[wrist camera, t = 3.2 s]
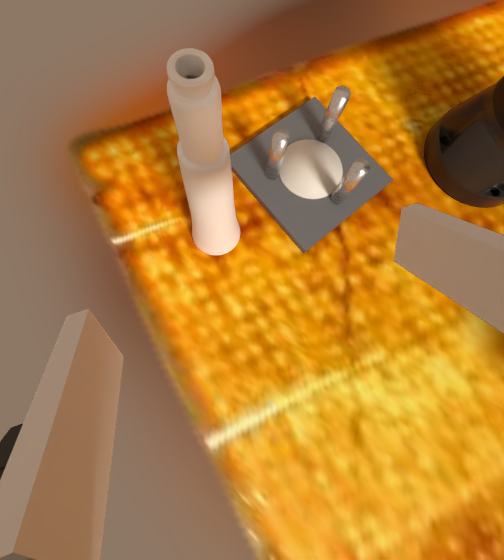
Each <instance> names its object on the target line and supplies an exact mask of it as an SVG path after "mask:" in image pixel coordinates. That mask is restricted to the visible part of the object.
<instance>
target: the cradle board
mask: <svg viewBox="0 0 504 560" xmlns="http://www.w3.org/2000/svg"><path fill="white" fill-rule="evenodd" d="M326 110H327V109H326V108H325V107H324V106H323V105H322V104H321V103H320V102H319V101H318V100H317V99H316V97H313V98H312V99H311V100H309V101H308V102H306V103H305V104H303V105H302V106H300V107H299V108H297V109H296V110H294V111H293V112H292V113H290V114H289V115H287V116H286V117H284V118H283V119H281V120H280V121H278V122H277V123H275V124H274V125H273V126H271V127H270V128H268V129H267V130H265V131H264V132H262V133H261V134H259V135H258V136H256V137H255V138H254V139H252V140H251V141H249V142H248V143H246V144H245V145H243V146H242V147H240V148H239V149H237V150H236V151H235V152H233V153H232V154H230V159H231V169H232V171H233V172H234V173H235V175H236V176H237V177H238V178H239V179H240V180H241V182H242V183H243V184H244V185H245V186H246V187H247V189H248V190H249V191H250V192H251V193H252V194H253V195H254V197H255V198H256V199H257V200H258V201H259V202H260V204H261V205H262V206H263V207H264V208H265V209H266V211H267V212H268V213H269V214H270V215H271V216H272V217H273V219H274V220H275V221H276V222H277V223H278V224H279V226H280V227H281V228H282V229H283V230H284V231H285V232H286V234H287V235H288V236H289V237H290V238H291V239H292V241H293V242H294V243H295V244H296V245H297V246H298V248H299V249H300V250H301V251H302V252H303V253H305V252H306V251H307V250H308V249H309V248H311V247H312V246H313V245H314V244H316V243H317V242H318V241H319V240H321V239H322V238H323V237H324V236H325V235H327V234H328V233H329V232H330V231H332V230H333V229H334V228H335V227H337V226H338V225H339V224H340V223H341V222H343V221H344V220H345V219H346V218H348V217H349V216H350V215H351V214H352V213H354V212H355V211H356V210H357V209H359V208H360V207H361V206H362V205H364V204H365V203H366V202H367V201H368V200H370V199H371V198H372V197H373V196H375V195H376V194H377V193H378V192H380V191H381V190H382V189H383V188H384V187H386V186H387V185H388V184H389V183H390V182H391V181H392V180H393V179H392V178H391V177H390V176H389V175H388V174H387V173H386V172H385V171H384V170H383V169H382V168H381V167H380V166H379V165H378V163H377V162H376V161H375V160H374V159H373V158H372V157H371V156H370V155H369V154H368V153H367V152H366V151H365V150H364V149H363V148H362V146H361V145H360V144H359V143H358V142H357V141H356V140H355V139H354V138H353V137H352V136H351V135H350V134H349V133H348V132H347V130H346V129H345V128H344V127H343V126H342V125H341V124H340V123H339V122H338V121H337V123H336V125H335V127H334V129H333V131H332V133H331V135H330V137H329V139H328V141H327V142H326V143H323V142H320V141H317V140H316V134H317V131H318V129H319V127H320V124H321V122H322V120H323V117H324V115H325V113H326ZM278 128H284V129H286V130H288V131H289V133H290V139H289V143H288V146H287V149H286V153H285V156H284V159H283V163H282V166H281V169H280V173H279V176H278V178H277V179H275V180H270V179H268V178H267V177H266V175H265V171H266V166H267V162H268V157H269V152H270V147H271V143H272V138H273V133H274V131H275V130H276V129H278ZM360 158H362V159H365V160H367V161H368V162H369V164H370V170H369V172H368V173H367V174H366V175H365V176H364V177H363V179H362V180H361V181H360V182H359V183H358V184H357V186H356V187H355V188H354V189H353V190H352V191H351V193H350V194H349V195H348V196H347V197H346V198H345V200H344V201H343V202H342V203H341V204H338V205H336V204H333V203H332V202H331V200H330V195H331V193H332V192H333V191H334V189H335V188H336V187H337V185H338V184H339V182H340V181H341V180H342V178H343V177H344V176H345V174H346V173H347V171H348V170H349V169H350V167H351V166H352V164H353V163H354V162H355V160H357V159H360Z"/></svg>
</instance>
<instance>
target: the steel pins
mask: <svg viewBox="0 0 504 560" xmlns="http://www.w3.org/2000/svg"><path fill="white" fill-rule="evenodd" d="M350 95H351V93H350V90H349V89H348V88H347V87H345V86H339V87H337V88H336V89H335V92H334V94H333V96H332V99H331V101H330V103H329V106H328V108H327V110H326V113H325V115H324V117H323V120H322V122H321V124H320V127H319V129H318V131H317V134H316V140H317V141H320V142H323V143H326V142H327V141H328V139H329V137H330V135H331V133H332V131H333V129H334V127H335V125H336V123H337V121H338V119H339V117H340V115H341V113H342V111H343V110H344V108H345V106H346V104H347V102H348V100H349V98H350ZM289 139H290V133H289V131H288V130H286V129H284V128H278V129H276V130H275V131H274V133H273V138H272V143H271V147H270V152H269V157H268V162H267V166H266V171H265V175H266V177H267V178H268V179H270V180H275V179H277V178H278V176H279V173H280V169H281V166H282V163H283V159H284V156H285V153H286V149H287V146H288V143H289ZM369 170H370V164H369V162H368V161H367V160H365V159H362V158H360V159H357V160H355V162H354V163H353V164H352V166H351V167H350V169H349V170H348V171H347V173H346V174H345V176H344V177H343V178H342V180H341V181H340V182H339V184H338V185H337V187H336V188H335V189H334V191H333V192H332V193H331V195H330V200H331V202H332V203H333V204H336V205H338V204H341V203H342V202H343V201H344V200H345V198H346V197H347V196H348V195H349V194H350V193H351V191H352V190H353V189H354V188H355V187H356V186H357V184H358V183H359V182H360V181H361V180H362V179H363V177H364V176H365V175H366V174H367V173H368V172H369Z"/></svg>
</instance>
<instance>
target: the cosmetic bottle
mask: <svg viewBox="0 0 504 560" xmlns="http://www.w3.org/2000/svg"><path fill="white" fill-rule="evenodd" d="M167 73H168V77H169V79H168V82H167V95H168V99H169V103H170V106H171V110H172V114H173V117H174V121H175V125H176V128H177V132H178V136H179V142H178V145H177V155H178V160H179V165H180V170H181V174H182V179H183V183H184V187H185V191H186V195H187V200H188V204H189V208H190V213H191V218H192V237H193V241H194V243H195V244H196V246H197V247H198V248H199V249H200V250H201V251H203V252H205V253H207V254H210V255H222V254H225V253H228V252H229V251H231V250H232V249H233V248H234V247H235V246H236V245H237V243H238V241H239V238H240V227H239V224H238V222H237V218H236V214H235V207H234V195H233V181H232V169H231V159H230V151H229V145H228V142H227V140H226V139H225V137H224V136H223V129H222V108H221V89H220V85H219V82H218V80H217V78H216V77H215V75H214V65H213V63H212V60H211V59H210V58H209V56H208V55H207V54H205V53H204V52H202V51H200V50H197V49H192V48H187V49H181V50H179V51H176V52H175V53H174V54H172V55H171V57H170V58H169V60H168V62H167Z"/></svg>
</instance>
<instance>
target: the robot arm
mask: <svg viewBox="0 0 504 560" xmlns="http://www.w3.org/2000/svg"><path fill="white" fill-rule="evenodd" d="M425 159H426V163H427V166H428V169H429V171H430V173H431V175H432V177H433V178H434V180H435V181H436V183H437V184H438V185H439V186H440V187H441V188H442V189H443V190H444V191H445V192H446V193H447V194H449V195H450V196H451V197H453V198H454V199H456V200H458V201H460V202H462V203H464V204H467V205H470V206H475V207H483V208H487V207H495V206H499V205H502V204H504V76H503V77H502V78H501V79H500V80H499V81H498V82H497V83H495V84H494V85H492V86H490V87H488V88H487V89H485V90H483V91H481V92H480V93H478V94H476V95H474V96H473V97H471V98H469V99H467V100H466V101H464V102H462V103H460V104H458V105H457V106H455V107H453V108H452V109H450V110H449V111H448V112H447V113H446V114H444V116H443V117H442V118H441V119H440V120H439V121H438V122H437V123H436V124H435V125H434V126H433V127H432V128H431V130H430V131H429V133H428V135H427V138H426V142H425ZM394 262H396V263H397V264H399V265H400V266H402V267H403V268H405V269H406V270H408V271H409V272H411V273H412V274H414V275H415V276H417V277H418V278H420V279H421V280H423V281H424V282H426V283H428V284H429V285H431V286H432V287H434V288H435V289H437V290H438V291H440V292H441V293H443V294H444V295H446V296H447V297H449V298H450V299H452V300H453V301H455V302H456V303H458V304H459V305H461V306H463V307H464V308H466V309H467V310H469V311H470V312H472V313H473V314H475V315H476V316H478V317H479V318H481V319H482V320H484V321H485V322H487V323H488V324H490V325H491V326H493V327H494V328H496V329H498V330H499V331H501V332H502V333H504V235H501V234H498V233H496V232H493V231H490V230H488V229H485V228H482V227H480V226H477V225H475V224H472V223H469V222H467V221H464V220H461V219H459V218H456V217H453V216H451V215H448V214H445V213H443V212H440V211H437V210H435V209H432V208H429V207H427V206H424V205H422V204H419V203H415V204H412V205H409V206H406V207H403V208H402V210H401V217H400V224H399V230H398V237H397V244H396V250H395V257H394ZM122 365H123V355H122V354H121V352H119V350H118V348H117V347H116V346H115V344H114V343H113V342H112V340H111V339H110V337H109V336H108V335H107V334H106V332H105V331H104V329H103V328H102V327H101V325H100V324H99V323H98V321H97V320H96V319H95V317H94V316H93V314H92V313H91V311H90V310H89V309H87V310H84V311H80V312H78V313H75V314H71V315H68V316H67V317H66V319H65V322H64V324H63V327H62V329H61V332H60V334H59V336H58V339H57V341H56V344H55V347H54V349H53V351H52V354H51V356H50V359H49V361H48V364H47V366H46V369H45V371H44V374H43V376H42V378H41V381H40V384H39V386H38V388H37V391H36V394H35V396H34V398H33V401H32V403H31V406H30V408H29V410H28V413H27V416H26V418H25V421H24V423H23V424H20V425H18V426H15V427H12V428H10V430H9V431H8V432H7V434H6V435H5V436H4V438H3V439H2V440H1V442H0V560H100V554H101V545H102V536H103V529H104V528H103V527H104V520H105V511H106V503H107V494H108V485H109V477H110V468H111V460H112V451H113V443H114V434H115V426H116V417H117V408H118V399H119V391H120V382H121V373H122Z"/></svg>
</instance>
